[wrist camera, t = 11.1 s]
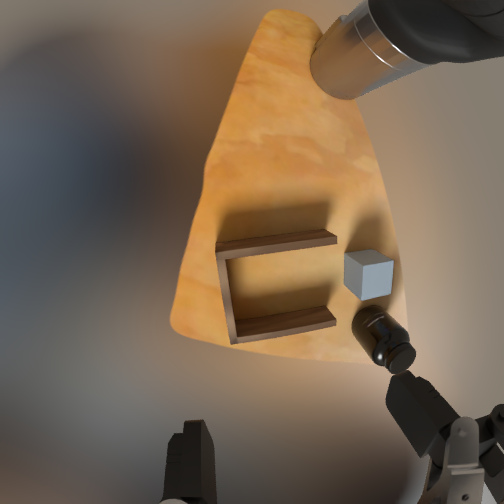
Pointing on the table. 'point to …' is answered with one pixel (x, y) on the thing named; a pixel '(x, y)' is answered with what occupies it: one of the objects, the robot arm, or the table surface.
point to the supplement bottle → (383, 339)
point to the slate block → (368, 273)
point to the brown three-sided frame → (280, 322)
